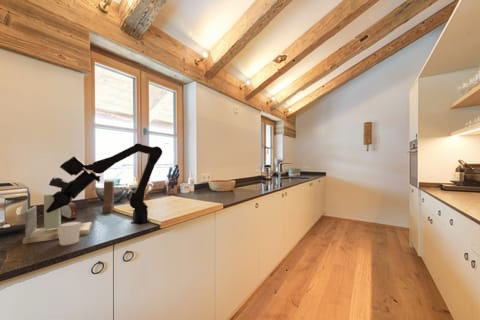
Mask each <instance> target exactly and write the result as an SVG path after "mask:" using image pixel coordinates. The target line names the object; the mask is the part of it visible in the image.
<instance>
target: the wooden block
mask: <svg viewBox="0 0 480 320" xmlns="http://www.w3.org/2000/svg"><path fill="white" fill-rule="evenodd" d="M114 183H115V181H114V180H106V181H104V182H103V204H102V214H103V215H106V214H112V213H113V211H114V210H113V208H115V191H114V190H115V186H114V185H115V184H114Z"/></svg>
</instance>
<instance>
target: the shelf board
mask: <svg viewBox="0 0 480 320" xmlns="http://www.w3.org/2000/svg"><path fill="white" fill-rule="evenodd" d="M24 213H25V219H24V220H25V222H24V223H25V236H24V237H23V238H22V244H23V245H26V244H31V243H39V242H46V241H52V240H57V239H58V240H59V234H58V228H54V229H46V230H44V227H41V228H37V221H38V220H37V205H35V206H34V205H33V206H31V207H30V208H28V209H27V210H25V212H24ZM92 225H93V224H92V221H88V222H81V223H80V232H79V236H85V235H89V234H90V232H91V229H92Z"/></svg>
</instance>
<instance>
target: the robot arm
mask: <svg viewBox="0 0 480 320" xmlns="http://www.w3.org/2000/svg"><path fill="white" fill-rule="evenodd" d="M138 152H139V153H142V154H145V155H147V159H146V160H147V161H146V164H145V166H144V169H143V171H142V174H141V177H140V179H139V182H138V184H137V186H136V188H135V190H134V191H133V190H130V195H129V197H128V202H129V203H128V204H129V206H130V207H131V208H132V209H133V210H132V211H133V212H132V221H130V223H131V224H136V225H142V224H145V223H147V222H150V221H149V220H150V219H148V217H149V216H148V213H149V212H148V204H146V202H144V200H145V192H146V188H147V186H148V183H149V180H150V178H151V176H152V173H153V170H154V168H155V166H156V164H157V163H158V161H159V160H160V158H161V156H162V155H163V150H162V148H161V147H159V146H156V145H155V146H148V145H146V144H145V145H144V144H141V143H135V144H134V145H132V146H130V147H128V148H126V149H124V150H122V151H120V152H118V153H116V154H114V155H112V156H109V157H106V158H102V159H100V160H99V159H98V160H95V161H94V162H92V164H91V163H90V164H89V163H87V164H85V163H83V162H82V161H81V160H79V159H78V157H76V156H72V157H71V158H70V159H68V160H66V161H65V162H63V163H62V164H61V165H60V166H59V168H60V169H61V170H63V171H64V172H65V173H66V174H68V175H70V176H71V177H72V176H76V178H74V179H73V180H70V181H69V180H66V179H64V178H61V177H56V176H55V177H52V179H51V180H50V182H49V184H48V185H49V186H51V187H56V188H59V189H60V190H59V191H57V192H54V193H55V194H54V193H53V194H54V195H53V196H52V197H53V198H54V201H53V203H52V204H51V205H50V206H49V208H48V209H47V210H46V212H47V213H49V212H52V211H54V210H56V209H59V208H61V207H63V206H67V205H68V204H69V203H70V202H72V201H73V200H75V199H76V198H77V197H78V196H79V195H80V194H81V193H82V192H83V191H84V190H85V189H86V188H87V187H88V186H90V185H91V184H93V182H94V181H97V183H99V182H101V175H100V174H103V173H105V172H106V171H107V170H109V169H110V168H111V167H112V166H114V165H115V164H117V163H119V162H120V161H123V160H125V159H126V158H128V157H130V156H132V155H134V154H137V153H138ZM90 171H91V172H90ZM97 174H99V175H97Z"/></svg>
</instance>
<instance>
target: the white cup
mask: <svg viewBox="0 0 480 320" xmlns="http://www.w3.org/2000/svg"><path fill="white" fill-rule="evenodd" d="M80 223H82V222H81V221H69V222H64V223H61V224H60V225H58V226H57V227H58V234H59V239H58V241H59V245H60V246H69V245H70V246H71V245H73V244H76V243H78V242H79V240H80V235H79V232H80Z"/></svg>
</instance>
